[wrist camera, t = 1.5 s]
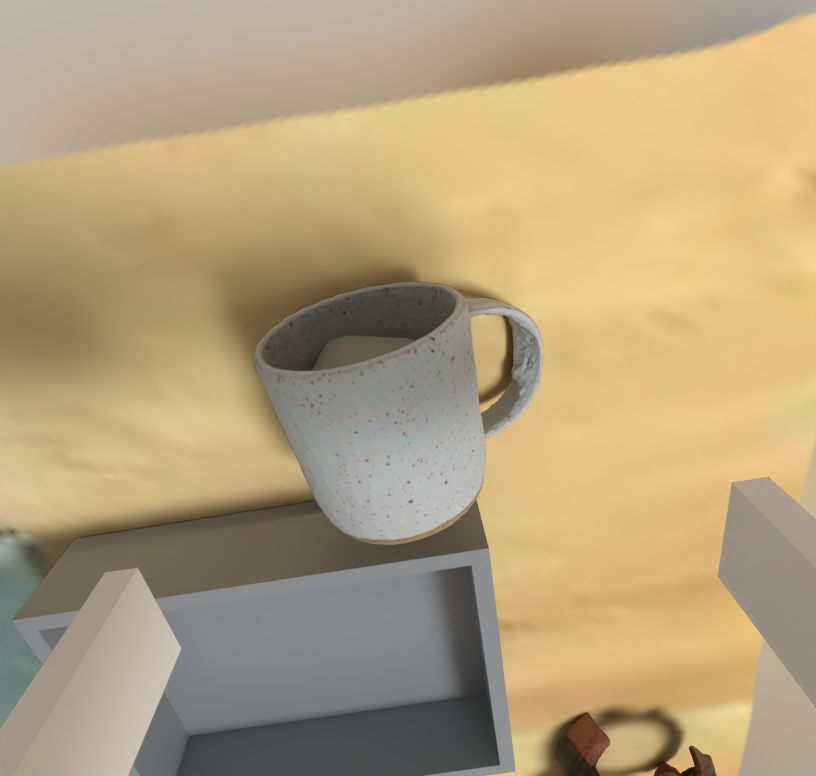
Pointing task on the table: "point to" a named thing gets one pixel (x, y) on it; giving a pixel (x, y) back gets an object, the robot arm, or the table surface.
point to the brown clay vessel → (591, 742)
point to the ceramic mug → (392, 403)
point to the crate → (306, 645)
